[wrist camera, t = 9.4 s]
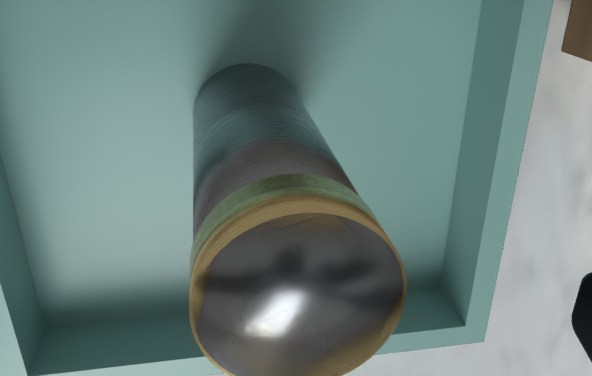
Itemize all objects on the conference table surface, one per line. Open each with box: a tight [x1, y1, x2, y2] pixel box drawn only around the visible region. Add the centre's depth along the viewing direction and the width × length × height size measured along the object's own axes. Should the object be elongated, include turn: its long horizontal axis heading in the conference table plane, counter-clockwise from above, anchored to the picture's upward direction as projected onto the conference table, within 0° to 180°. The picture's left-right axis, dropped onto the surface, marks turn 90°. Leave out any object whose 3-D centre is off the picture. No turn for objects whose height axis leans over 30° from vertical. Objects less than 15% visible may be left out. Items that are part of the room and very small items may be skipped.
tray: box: [0, 0, 553, 376], centre depth 15 cm, size 16×16×3 cm
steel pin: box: [189, 63, 407, 376], centre depth 12 cm, size 3×3×9 cm
